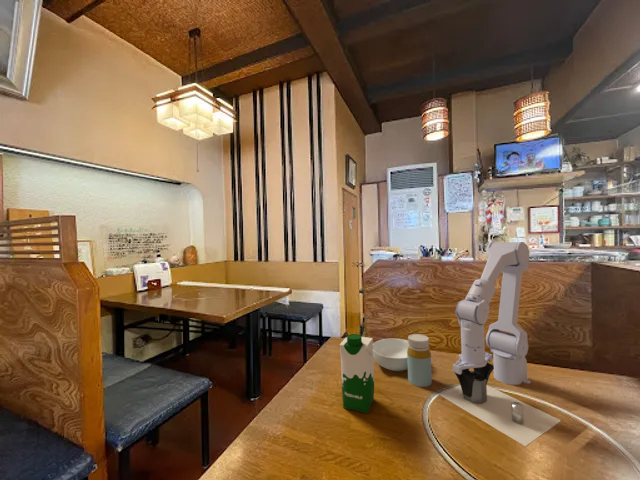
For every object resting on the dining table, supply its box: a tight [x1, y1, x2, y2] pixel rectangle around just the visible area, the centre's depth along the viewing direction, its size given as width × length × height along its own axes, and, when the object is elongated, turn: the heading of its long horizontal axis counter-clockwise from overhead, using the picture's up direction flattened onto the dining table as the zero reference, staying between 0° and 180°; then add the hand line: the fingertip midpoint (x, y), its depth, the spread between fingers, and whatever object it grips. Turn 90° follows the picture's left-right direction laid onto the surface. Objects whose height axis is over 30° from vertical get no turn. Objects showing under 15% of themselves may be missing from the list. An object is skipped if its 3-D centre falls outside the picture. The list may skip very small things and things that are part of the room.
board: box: [438, 384, 562, 447], centre depth 72 cm, size 16×22×1 cm
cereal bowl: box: [373, 337, 408, 372], centre depth 98 cm, size 17×17×7 cm
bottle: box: [407, 333, 433, 388], centre depth 85 cm, size 7×7×15 cm
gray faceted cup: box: [462, 370, 488, 403], centre depth 76 cm, size 6×6×6 cm
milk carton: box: [339, 333, 375, 414], centre depth 77 cm, size 9×9×20 cm
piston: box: [511, 402, 524, 425], centre depth 66 cm, size 2×2×4 cm
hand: (474, 391), depth 76 cm, fingers closed on gray faceted cup, 6 cm apart
